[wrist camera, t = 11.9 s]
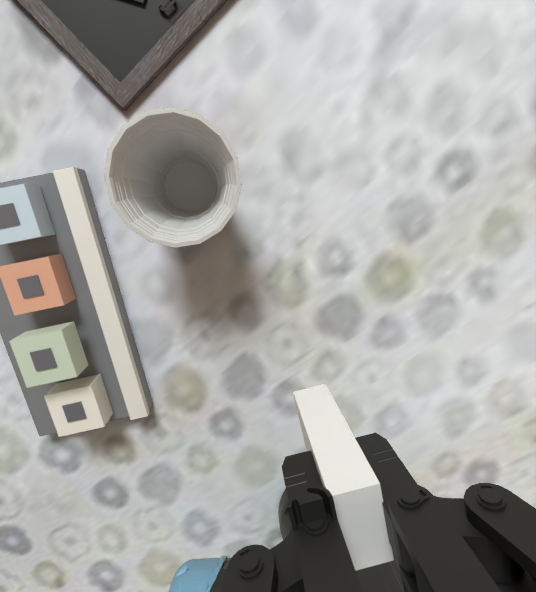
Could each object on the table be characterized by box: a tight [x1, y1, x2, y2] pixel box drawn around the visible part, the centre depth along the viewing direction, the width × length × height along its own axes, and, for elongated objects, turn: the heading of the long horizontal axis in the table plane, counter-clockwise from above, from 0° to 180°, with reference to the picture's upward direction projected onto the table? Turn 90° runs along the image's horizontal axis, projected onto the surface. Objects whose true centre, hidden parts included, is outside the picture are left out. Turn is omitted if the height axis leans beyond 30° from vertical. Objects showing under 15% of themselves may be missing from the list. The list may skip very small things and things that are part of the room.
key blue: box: [0, 184, 55, 245], centre depth 38 cm, size 5×5×3 cm
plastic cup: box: [104, 107, 242, 248], centre depth 36 cm, size 11×11×12 cm
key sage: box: [9, 321, 88, 388], centre depth 39 cm, size 5×5×3 cm
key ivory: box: [44, 374, 113, 437], centre depth 42 cm, size 5×5×3 cm
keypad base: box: [0, 167, 153, 436], centre depth 42 cm, size 28×13×3 cm, turn 11°
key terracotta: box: [0, 253, 76, 316], centre depth 39 cm, size 5×5×3 cm
